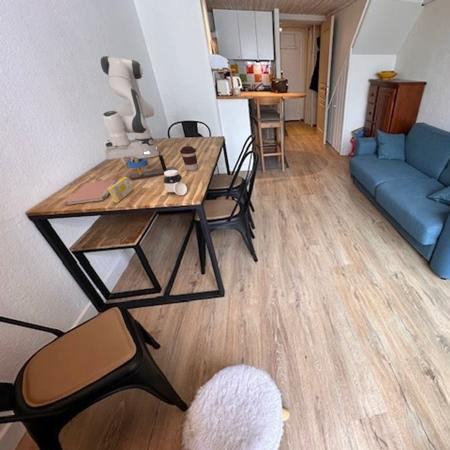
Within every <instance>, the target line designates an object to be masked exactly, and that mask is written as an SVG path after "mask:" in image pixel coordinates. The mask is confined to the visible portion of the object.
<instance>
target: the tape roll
mask: <svg viewBox="0 0 450 450" xmlns="http://www.w3.org/2000/svg"><path fill="white" fill-rule="evenodd" d="M134 159H135V158H133V162H130V161H131V159H128V160H126V161H127V164H128V165H127V166H128V168H129V169H137V168H144V167H147V166H148V165H149V162H148V160H147V159H148V158H138V159H139V162H135V161H134Z"/></svg>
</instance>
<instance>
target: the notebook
mask: <svg viewBox="0 0 450 450" xmlns="http://www.w3.org/2000/svg"><path fill="white" fill-rule="evenodd" d="M117 182H118V181H117V180H116V179H111V180H110V179H109V180H101V181H93V182H92V181H91V182H85V183H83V184H82V185H81V186H80V188H78V190H76V192H74V193H73V194H72V195H71V196H69V198H68V199H67V200H66V201H65V203H66V205H67V206H69V205H76V204H84V203H92V202H100V201H101V202H102V201H104V200H105V199H107V197H109V194H110V192H109V190H108V188H109V187H111V186H112V185H114V184H115V183H117Z"/></svg>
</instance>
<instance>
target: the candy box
mask: <svg viewBox="0 0 450 450" xmlns="http://www.w3.org/2000/svg"><path fill="white" fill-rule="evenodd" d="M108 190H109V192H110V193H109V194H110V196H111V199H112V201H113V202H114V204H119V203H120V202H121V201H122V200H123V199H124V198H125V197H127V196H128V195H129V194H131V193H132V192H133V191H134V189H133V186H132V184H131V182H130V180H129V178H128V176H124V177H122V178H120V179H119V180H118V181H117V183H115V184H114V185H112V186H111V187H109V188H108Z"/></svg>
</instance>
